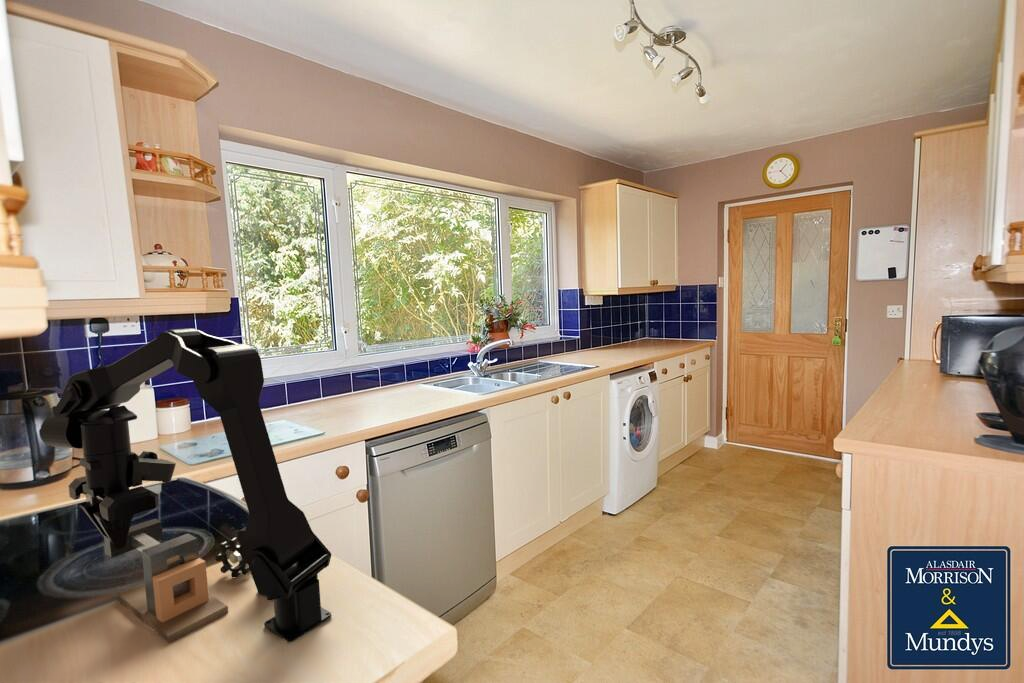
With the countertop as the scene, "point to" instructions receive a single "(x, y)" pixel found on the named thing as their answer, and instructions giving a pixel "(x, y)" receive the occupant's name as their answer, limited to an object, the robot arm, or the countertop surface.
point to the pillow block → (157, 564)
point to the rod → (141, 540)
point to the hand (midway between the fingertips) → (117, 546)
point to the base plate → (177, 624)
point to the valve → (232, 558)
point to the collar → (196, 596)
